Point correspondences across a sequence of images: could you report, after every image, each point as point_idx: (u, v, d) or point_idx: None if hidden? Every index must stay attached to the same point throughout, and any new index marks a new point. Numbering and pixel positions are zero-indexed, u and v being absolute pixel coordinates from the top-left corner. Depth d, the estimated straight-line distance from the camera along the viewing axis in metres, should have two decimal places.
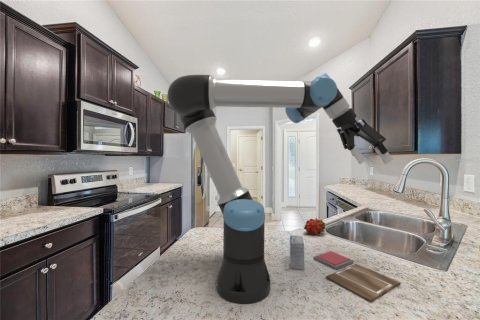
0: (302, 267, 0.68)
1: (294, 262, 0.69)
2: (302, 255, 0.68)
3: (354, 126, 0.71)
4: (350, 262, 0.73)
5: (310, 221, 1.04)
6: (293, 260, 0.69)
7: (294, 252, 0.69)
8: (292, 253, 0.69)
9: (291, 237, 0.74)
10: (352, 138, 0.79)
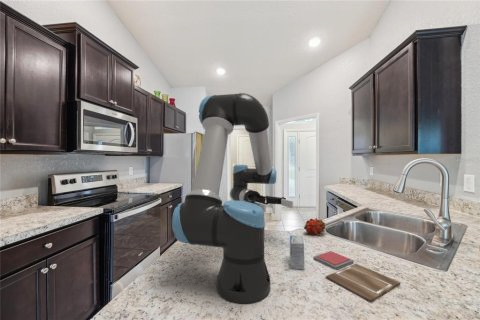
0: (302, 267, 0.68)
1: (294, 262, 0.69)
2: (302, 255, 0.68)
3: None
4: (350, 262, 0.73)
5: (310, 221, 1.04)
6: (293, 260, 0.69)
7: (294, 252, 0.69)
8: (292, 253, 0.69)
9: (291, 237, 0.74)
10: None
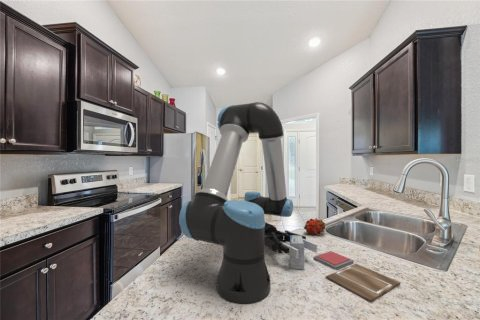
0: (302, 267, 0.68)
1: (294, 262, 0.69)
2: (302, 255, 0.68)
3: None
4: (350, 262, 0.73)
5: (310, 221, 1.04)
6: (293, 260, 0.69)
7: None
8: None
9: (291, 237, 0.74)
10: None
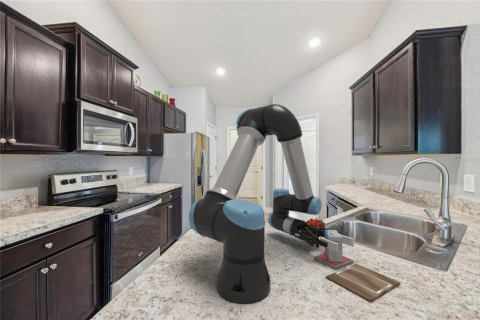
0: (341, 259, 0.71)
1: (333, 255, 0.71)
2: (340, 248, 0.71)
3: None
4: (350, 262, 0.73)
5: (310, 221, 1.04)
6: (332, 253, 0.71)
7: None
8: None
9: (327, 231, 0.77)
10: None
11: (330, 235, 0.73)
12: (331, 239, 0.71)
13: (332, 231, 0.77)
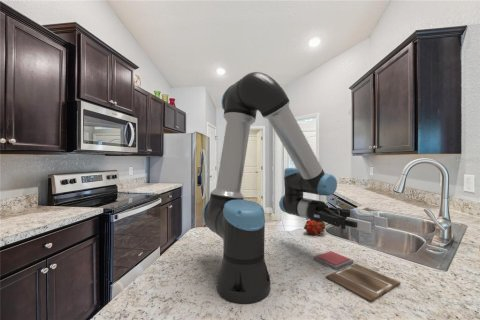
0: (374, 242, 0.58)
1: (363, 237, 0.59)
2: (373, 228, 0.58)
3: None
4: (350, 262, 0.73)
5: (310, 221, 1.04)
6: (362, 234, 0.59)
7: None
8: None
9: (353, 210, 0.64)
10: None
11: (359, 213, 0.60)
12: (361, 218, 0.59)
13: (360, 210, 0.64)
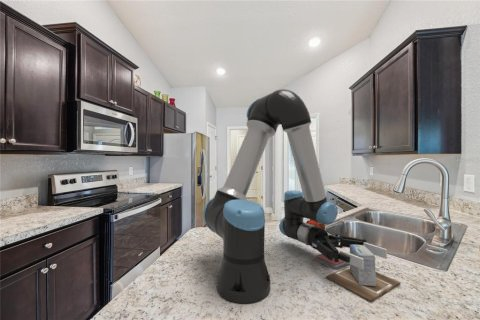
0: (374, 283, 0.58)
1: (363, 278, 0.58)
2: (373, 269, 0.58)
3: None
4: None
5: (310, 221, 1.04)
6: (362, 275, 0.58)
7: None
8: None
9: (353, 247, 0.64)
10: None
11: (359, 252, 0.60)
12: None
13: (360, 246, 0.64)
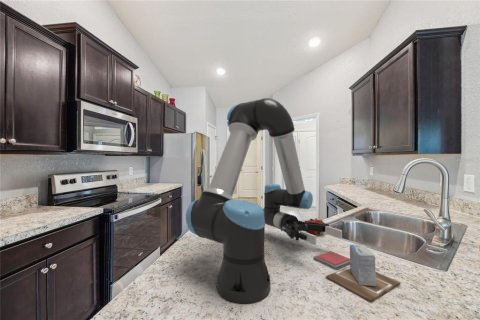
0: (374, 283, 0.58)
1: (363, 278, 0.58)
2: (373, 269, 0.58)
3: None
4: None
5: (310, 221, 1.04)
6: (362, 275, 0.58)
7: (363, 265, 0.58)
8: (360, 267, 0.59)
9: (353, 247, 0.64)
10: None
11: (359, 252, 0.60)
12: (361, 258, 0.59)
13: (360, 246, 0.64)
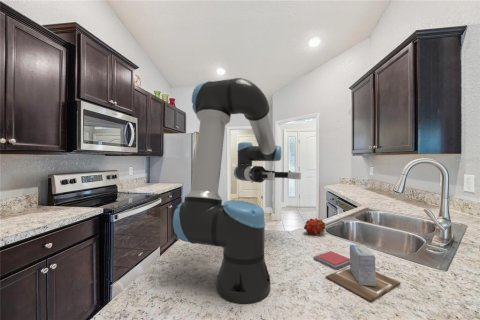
0: (374, 283, 0.58)
1: (363, 278, 0.58)
2: (373, 269, 0.58)
3: None
4: None
5: (310, 221, 1.04)
6: (362, 275, 0.58)
7: (363, 265, 0.58)
8: (360, 267, 0.59)
9: (353, 247, 0.64)
10: None
11: (359, 252, 0.60)
12: (361, 258, 0.59)
13: (360, 246, 0.64)
